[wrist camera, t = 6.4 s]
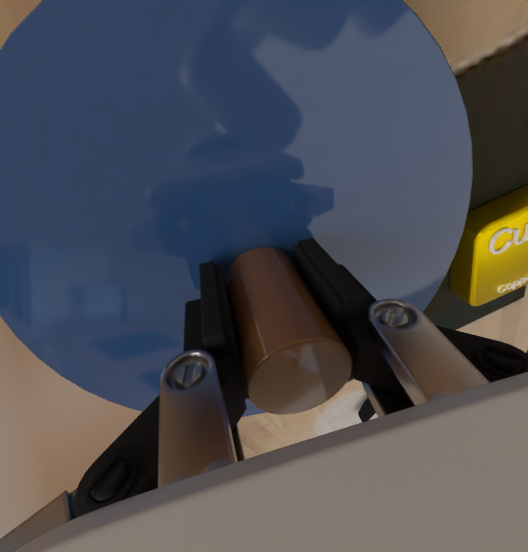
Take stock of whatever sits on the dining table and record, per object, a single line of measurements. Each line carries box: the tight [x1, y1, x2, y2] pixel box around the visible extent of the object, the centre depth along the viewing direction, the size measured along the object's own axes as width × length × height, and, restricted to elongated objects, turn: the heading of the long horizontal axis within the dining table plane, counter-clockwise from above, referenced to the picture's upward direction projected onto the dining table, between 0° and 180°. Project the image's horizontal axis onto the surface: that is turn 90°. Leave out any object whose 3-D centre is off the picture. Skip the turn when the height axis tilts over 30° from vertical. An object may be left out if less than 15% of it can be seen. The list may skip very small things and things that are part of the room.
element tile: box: [450, 185, 528, 306], centre depth 40 cm, size 15×15×5 cm
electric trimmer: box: [358, 398, 376, 422], centre depth 56 cm, size 4×16×3 cm, turn 154°
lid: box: [0, 0, 473, 417], centre depth 9 cm, size 19×19×6 cm
